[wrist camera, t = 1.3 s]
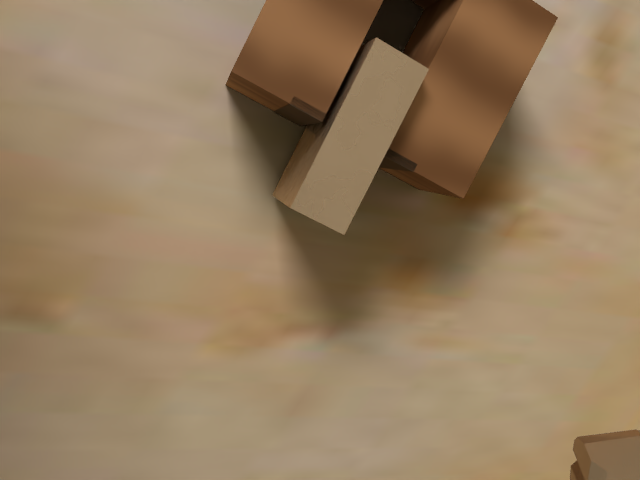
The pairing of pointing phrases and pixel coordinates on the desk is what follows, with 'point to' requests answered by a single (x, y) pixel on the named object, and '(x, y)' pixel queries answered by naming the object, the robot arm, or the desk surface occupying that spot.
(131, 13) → the desk surface
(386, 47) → the elongated beige block
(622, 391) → the desk surface
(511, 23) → the housing
